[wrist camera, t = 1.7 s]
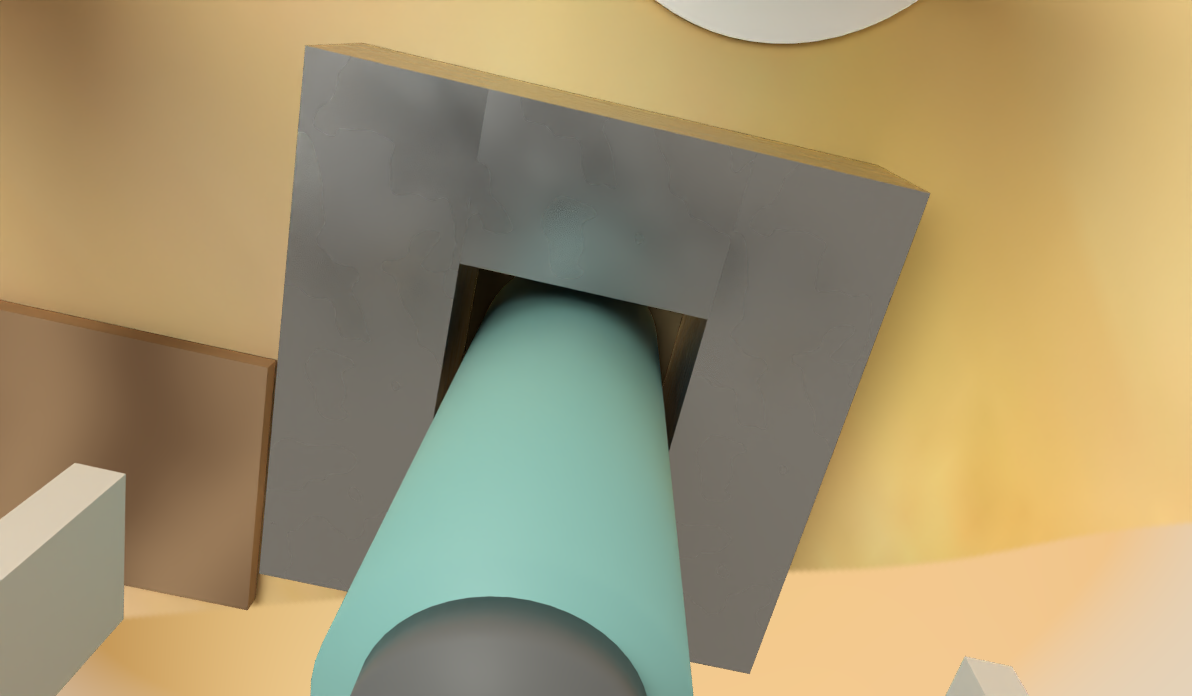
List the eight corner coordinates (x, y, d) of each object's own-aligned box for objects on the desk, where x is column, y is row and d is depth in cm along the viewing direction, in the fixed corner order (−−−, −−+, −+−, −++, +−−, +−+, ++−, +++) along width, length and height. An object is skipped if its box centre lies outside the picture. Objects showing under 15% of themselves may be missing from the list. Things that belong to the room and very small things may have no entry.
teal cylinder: (468, 404, 25) (272, 869, 11) (498, 241, 23) (307, 557, 9) (634, 440, 25) (644, 938, 11) (677, 282, 23) (751, 649, 9)
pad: (-13, 544, 27) (-26, 554, 27) (-27, 294, 24) (-42, 300, 24) (255, 598, 28) (247, 610, 27) (276, 360, 25) (267, 367, 24)
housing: (311, 496, 26) (259, 573, 23) (361, 43, 21) (305, 45, 17) (732, 584, 27) (749, 673, 23) (878, 165, 22) (930, 193, 18)
